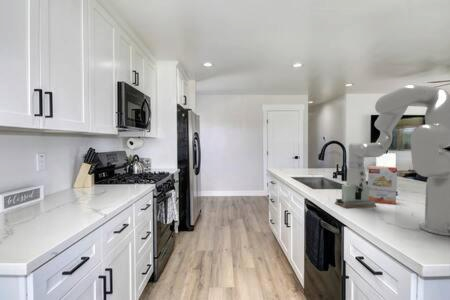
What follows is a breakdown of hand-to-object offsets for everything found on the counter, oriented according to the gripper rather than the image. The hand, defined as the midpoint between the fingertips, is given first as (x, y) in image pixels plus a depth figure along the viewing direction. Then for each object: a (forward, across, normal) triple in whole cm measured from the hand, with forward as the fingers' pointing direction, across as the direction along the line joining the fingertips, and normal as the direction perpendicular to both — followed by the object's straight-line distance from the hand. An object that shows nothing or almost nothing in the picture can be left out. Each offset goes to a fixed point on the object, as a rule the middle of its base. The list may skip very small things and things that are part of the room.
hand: (355, 198), depth 141 cm
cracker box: (+4, +4, -20) cm, 21 cm away
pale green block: (+2, 0, 0) cm, 2 cm away
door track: (+4, 0, 0) cm, 4 cm away
